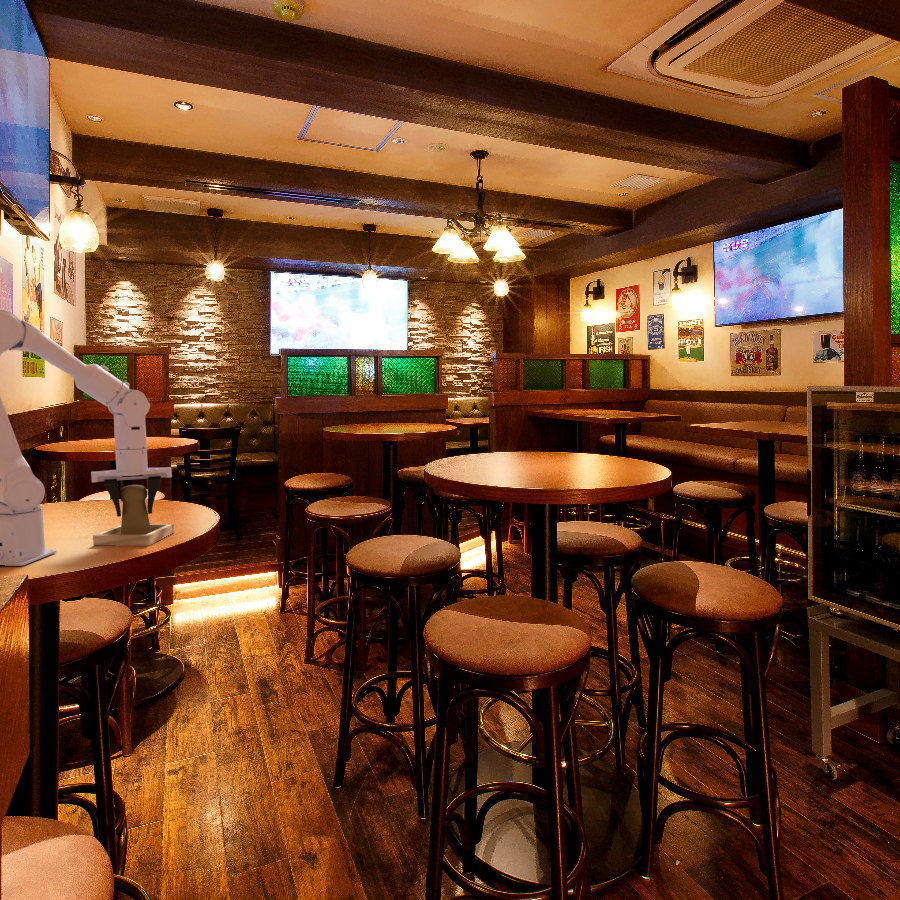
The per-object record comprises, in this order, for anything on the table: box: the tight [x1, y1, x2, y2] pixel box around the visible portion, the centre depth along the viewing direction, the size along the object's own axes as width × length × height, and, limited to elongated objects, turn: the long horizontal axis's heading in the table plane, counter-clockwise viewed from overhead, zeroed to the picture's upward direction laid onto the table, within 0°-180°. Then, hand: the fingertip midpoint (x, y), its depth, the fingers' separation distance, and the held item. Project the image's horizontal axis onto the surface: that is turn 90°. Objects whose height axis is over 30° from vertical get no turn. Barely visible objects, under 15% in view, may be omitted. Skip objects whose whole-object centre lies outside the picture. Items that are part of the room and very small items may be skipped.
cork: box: [119, 484, 152, 535], centre depth 128 cm, size 6×6×11 cm
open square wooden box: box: [92, 523, 175, 547], centre depth 127 cm, size 11×11×2 cm
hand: (134, 514), depth 127 cm, fingers closed on cork, 5 cm apart
